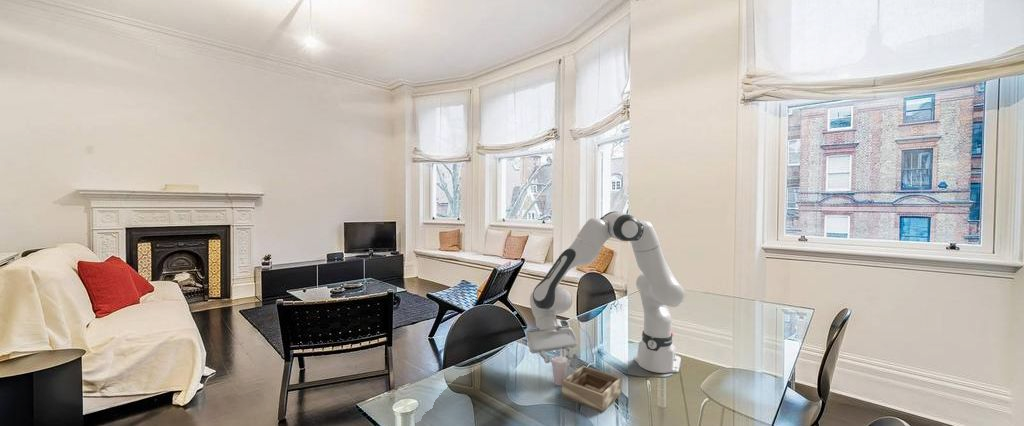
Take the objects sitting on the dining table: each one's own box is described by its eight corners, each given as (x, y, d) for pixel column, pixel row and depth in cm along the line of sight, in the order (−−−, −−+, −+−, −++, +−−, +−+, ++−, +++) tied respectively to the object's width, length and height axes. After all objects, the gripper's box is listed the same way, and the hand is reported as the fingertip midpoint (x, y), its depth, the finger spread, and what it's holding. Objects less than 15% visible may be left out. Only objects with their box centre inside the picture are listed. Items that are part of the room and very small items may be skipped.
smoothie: (566, 388, 151) (567, 352, 150) (549, 386, 152) (550, 350, 151) (567, 380, 157) (568, 345, 156) (551, 378, 159) (552, 343, 158)
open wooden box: (582, 380, 158) (583, 365, 157) (621, 393, 148) (622, 378, 147) (561, 396, 145) (562, 380, 144) (602, 412, 135) (603, 395, 135)
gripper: (527, 326, 157) (536, 361, 149) (572, 321, 165) (584, 353, 156) (522, 333, 162) (531, 367, 153) (567, 328, 169) (578, 360, 161)
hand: (558, 360), depth 155 cm, fingers open, 8 cm apart
